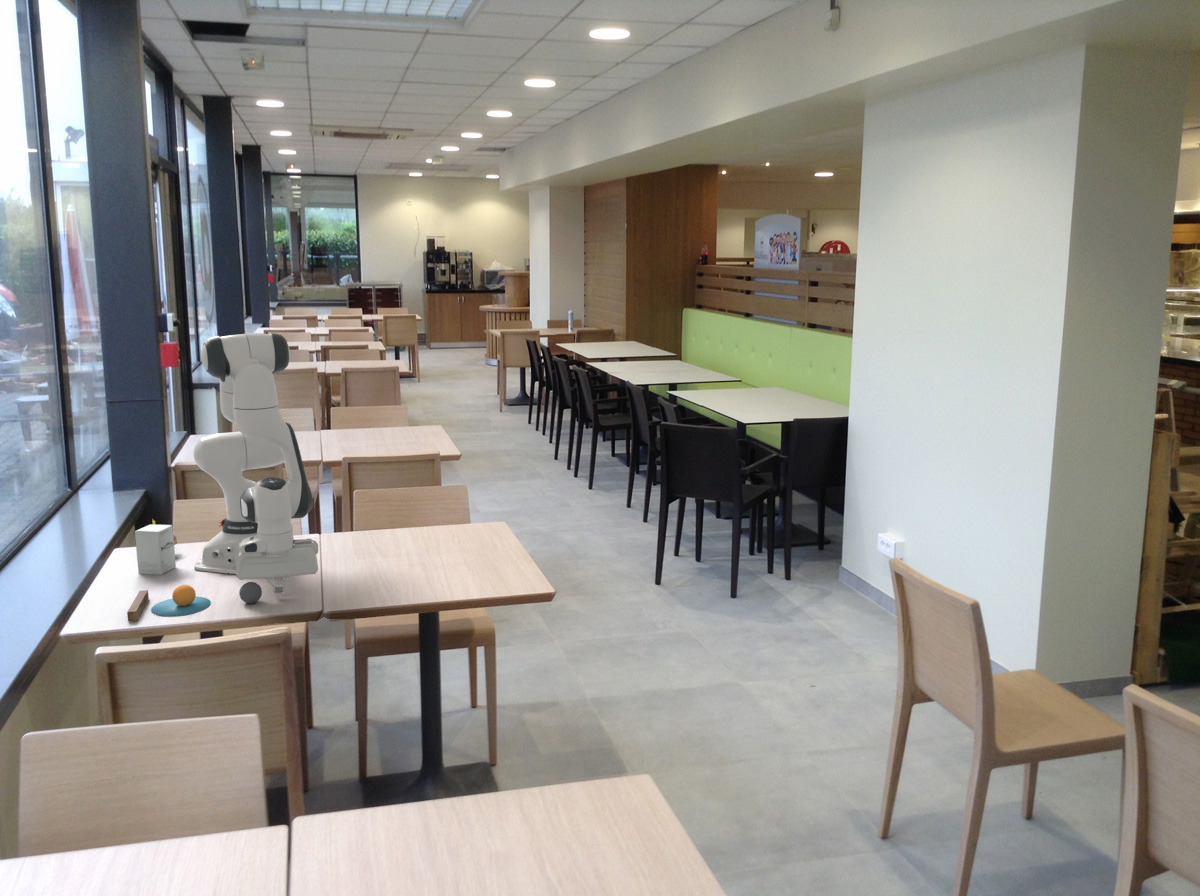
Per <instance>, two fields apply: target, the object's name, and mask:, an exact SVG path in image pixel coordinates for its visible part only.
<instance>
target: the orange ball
mask: <svg viewBox="0 0 1200 896" xmlns="http://www.w3.org/2000/svg"><path fill="white" fill-rule="evenodd" d="M196 595H197V594H196V590H195V588H193V587H192V586H191V585H189V584H180V585H178V586H177V587H175V588H174V590H173V591H172V596H171V597H172V598H173V601H174V602H175V603H176V604H177V605H179V606H188V605H190V604H191V603H192V602H193V601H194V600H195V597H196ZM172 598H171V599H172Z"/></svg>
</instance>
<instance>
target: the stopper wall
mask: <svg viewBox="0 0 1200 896" xmlns="http://www.w3.org/2000/svg"><path fill="white" fill-rule="evenodd" d="M148 599H150V598H149V590H148V589H146V590H145V589H144V590H143V589H142V590H139V591H138V592H137V595H136V596H135V598H134V599H133V601H132V603H131V605H130V606H129V608H128V610H127V611H126V613H127V622H128V621H131V622H138V620H139V618H140V616H141V615H142V613H143V611H144V609H145V607H146V606H147V603H148V602H147V601H149V600H148ZM143 608H144V609H143ZM142 610H143V611H142ZM141 612H142V613H141ZM140 614H141V615H140ZM138 617H139V618H138Z"/></svg>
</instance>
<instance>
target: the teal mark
mask: <svg viewBox="0 0 1200 896" xmlns="http://www.w3.org/2000/svg"><path fill="white" fill-rule="evenodd" d="M210 603H211V600H210V599H209V598H207V597H204V596H196V597H195V600H194V601H193V602H192V603H191V604H190V605H188V606H179V605H177V604H176V603H175V602H174V601H173V598H169V599H165V600H162V601H160V602H157V603H156V604H154V605H153V606H152V607H151V609H150V611H152V612H151V614H153V613H154V614H153V615H155V614H156V615H155V616H158V617H182V616H187V615H192V614H196V613H198V611H199V612H202V611H204V610H205V608H206V609H208V608H209V607H210V606H211V604H210ZM208 606H209V607H208ZM203 609H204V610H203ZM201 610H202V611H201Z"/></svg>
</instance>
